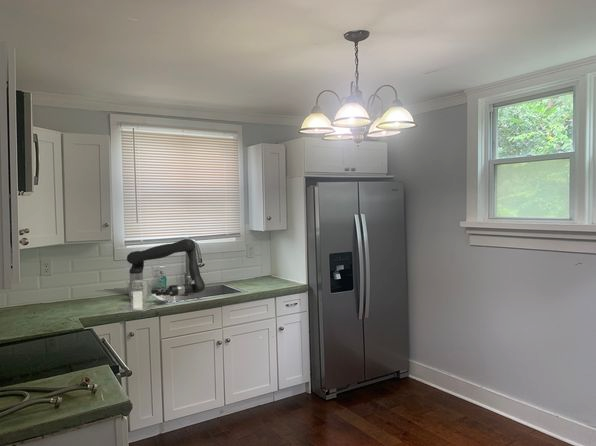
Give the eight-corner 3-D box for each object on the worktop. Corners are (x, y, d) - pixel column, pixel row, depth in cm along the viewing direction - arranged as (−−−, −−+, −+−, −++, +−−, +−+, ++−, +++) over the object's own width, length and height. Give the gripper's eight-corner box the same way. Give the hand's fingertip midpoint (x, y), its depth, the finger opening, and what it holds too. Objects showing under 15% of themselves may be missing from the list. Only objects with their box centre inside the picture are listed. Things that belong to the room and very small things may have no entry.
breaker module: (129, 307, 294) (129, 292, 293) (140, 305, 298) (140, 290, 298) (131, 308, 291) (131, 293, 290) (142, 306, 295) (142, 291, 295)
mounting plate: (118, 308, 293) (118, 307, 293) (131, 304, 304) (131, 303, 304) (143, 311, 285) (143, 310, 285) (155, 307, 297) (155, 306, 297)
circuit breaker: (152, 299, 322) (151, 278, 321) (143, 303, 308) (142, 281, 307) (142, 298, 323) (141, 278, 322) (132, 303, 309) (132, 281, 308)
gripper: (172, 283, 317) (149, 285, 307) (180, 286, 306) (157, 289, 296) (172, 293, 317) (150, 296, 307) (180, 297, 306) (157, 300, 296)
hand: (153, 293), depth 301 cm, fingers open, 8 cm apart
